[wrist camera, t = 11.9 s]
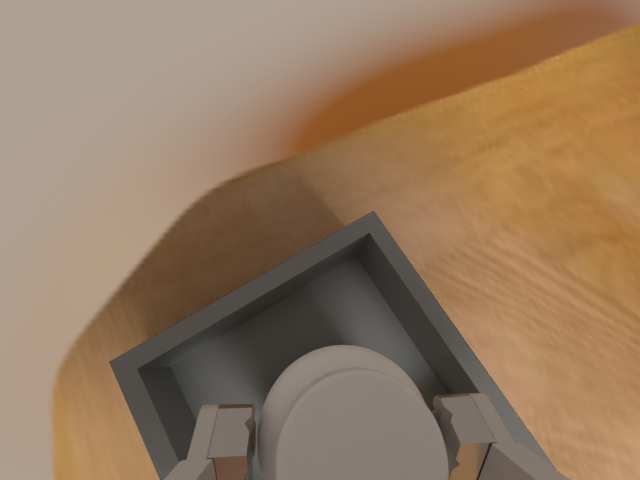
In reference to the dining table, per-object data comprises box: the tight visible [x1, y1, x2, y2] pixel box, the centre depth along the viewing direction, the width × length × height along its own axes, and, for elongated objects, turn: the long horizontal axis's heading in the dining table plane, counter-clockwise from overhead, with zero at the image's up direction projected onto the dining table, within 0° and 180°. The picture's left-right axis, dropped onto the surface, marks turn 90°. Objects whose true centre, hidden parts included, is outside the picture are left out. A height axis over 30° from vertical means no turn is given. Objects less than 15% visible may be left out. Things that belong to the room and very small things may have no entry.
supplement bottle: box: [257, 345, 449, 480], centre depth 13 cm, size 5×5×10 cm
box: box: [110, 211, 556, 480], centre depth 16 cm, size 13×13×4 cm
